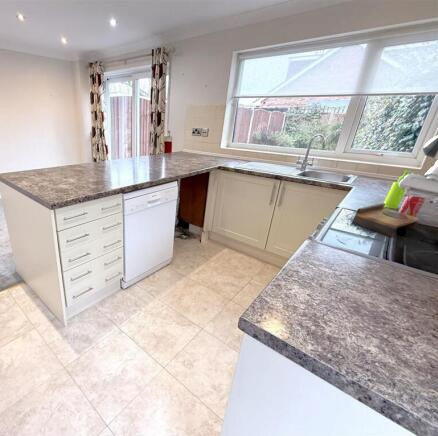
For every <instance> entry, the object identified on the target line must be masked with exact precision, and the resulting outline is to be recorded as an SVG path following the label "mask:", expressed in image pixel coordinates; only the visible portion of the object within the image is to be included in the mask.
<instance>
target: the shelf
mask: <svg viewBox="0 0 438 436" xmlns="http://www.w3.org/2000/svg"><path fill="white" fill-rule="evenodd" d="M384 206H385V204H384V202H381V203H377V204H373V205H368V206H364V207H360V208H359V207H358V208H357V210H356V213H355V215H354V217H353V219H352V222H351V223H352V224H354V225H357V226H359V227H362V228H365V229H367V230H370V231H373V232H376V233H378V234H381V235H383V236H387V237H390V238H392V237H393V236H394V234H395V232H396V231H397V229H398V228H402V227H404V228H407V229H411V230H414V229H415V227H416V226H417V224H418V222H419V220H420V218H419V217H417V216H416V217H413V216H410V215H407V214H403V213H400V212H399V211H396V210H394V209H390V208H387V207H384Z"/></svg>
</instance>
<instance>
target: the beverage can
mask: <svg viewBox="0 0 438 436" xmlns="http://www.w3.org/2000/svg"><path fill="white" fill-rule="evenodd" d="M425 200H426V199H425V196H424V195H421V194H417V193H409V195H408V196H407V197H405V198H404V201H403V202H402V204H401V206H400V207H399V210H398V212H400V213H403V214H407V215H410V216H413V217H417V216H418V214H419V212H420V210H421V208H422V207H423V206H424V203H425Z"/></svg>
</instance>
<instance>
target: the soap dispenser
mask: <svg viewBox="0 0 438 436" xmlns="http://www.w3.org/2000/svg"><path fill="white" fill-rule="evenodd" d="M402 172H403V175H401V176H399V177H398V180H397V181H394V182H393V183H392V184H391V187H390V189H389V191H388V193H387V196H386V197H385V199H384V201H383V203H384V204H385V206H384V208H386V209H391V210H397V209H398V207H399V205H400V204H401V202H402V200H403V197H404V196H403V195H404V193H405V189H402V188H400V187H399V182H400V181H401V180H402V179H403V178H404V177H405V176H406V175H407V174H410V173H416V174H419V173H418V172H416V171H412V170H402Z"/></svg>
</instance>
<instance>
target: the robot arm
mask: <svg viewBox="0 0 438 436" xmlns="http://www.w3.org/2000/svg"><path fill="white" fill-rule="evenodd" d="M422 151H423V154H424V155H425V156H426V157H429V158H433V159H437V160H436V161H435V163H434V164H433V166H431V167H430V168H429V169H428V170H427V171H426V172H425V173H424V174H422V173H418V174H416V173H417V172H416V173H409V174H407V175H406V176H405V177H404V178H403V179H402V180H401V181H400V182H399V187H400V188H402V189H405V193H404V195H403V197H405V198H406V197H407V196H408V195H409V194H410V192H416V193H420V194H424V195H428V196H432V197H431V199H430V200H429V204H433V205H434V204H436V202H438V135H436V136H434V137H432V138H431V139H430V140H428V141H427V142H426V143H425V144H424V146H423V147H422ZM433 196H434V197H435V198H434V197H433Z"/></svg>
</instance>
